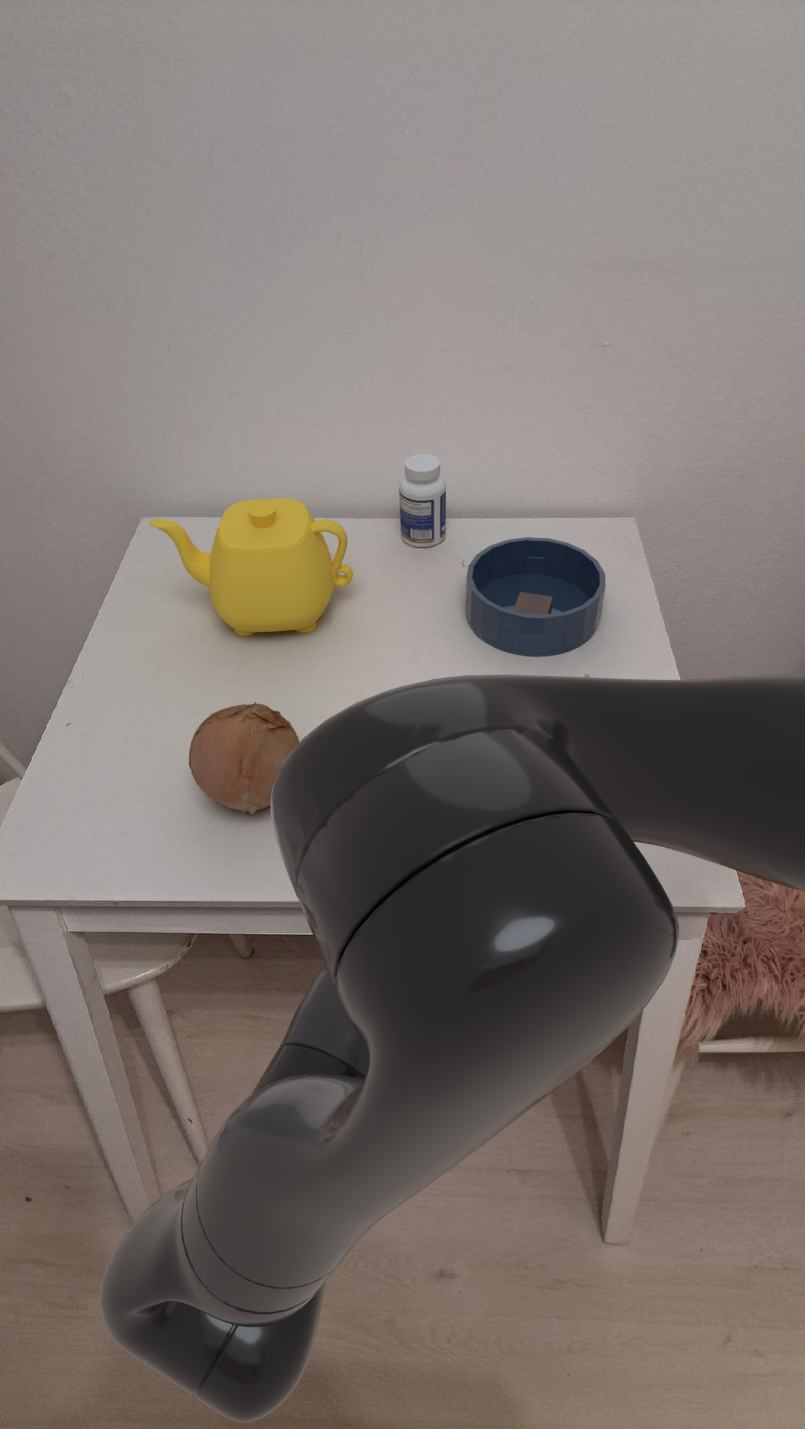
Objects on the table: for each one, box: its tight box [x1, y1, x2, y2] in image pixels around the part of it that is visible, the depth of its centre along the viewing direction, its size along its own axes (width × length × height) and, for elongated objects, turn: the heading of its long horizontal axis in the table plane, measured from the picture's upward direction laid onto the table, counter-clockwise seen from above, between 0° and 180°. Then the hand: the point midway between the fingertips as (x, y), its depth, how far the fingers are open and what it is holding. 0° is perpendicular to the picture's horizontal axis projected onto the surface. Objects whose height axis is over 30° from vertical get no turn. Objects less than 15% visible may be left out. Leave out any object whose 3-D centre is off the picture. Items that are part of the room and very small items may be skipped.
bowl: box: [465, 536, 607, 657], centre depth 98 cm, size 14×14×5 cm
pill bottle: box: [398, 453, 447, 548], centre depth 107 cm, size 5×5×10 cm
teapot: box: [147, 497, 354, 637], centre depth 97 cm, size 14×20×13 cm
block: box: [513, 592, 553, 615], centre depth 95 cm, size 4×4×4 cm
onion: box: [188, 701, 300, 815], centre depth 79 cm, size 10×9×10 cm
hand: (471, 820), depth 66 cm, fingers open, 8 cm apart
